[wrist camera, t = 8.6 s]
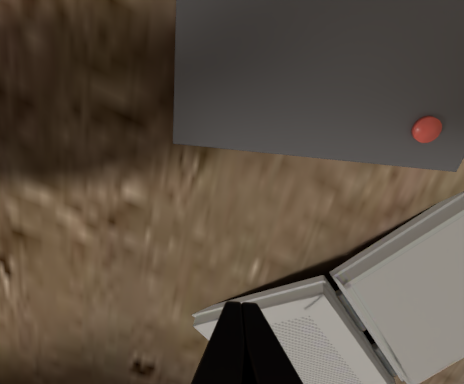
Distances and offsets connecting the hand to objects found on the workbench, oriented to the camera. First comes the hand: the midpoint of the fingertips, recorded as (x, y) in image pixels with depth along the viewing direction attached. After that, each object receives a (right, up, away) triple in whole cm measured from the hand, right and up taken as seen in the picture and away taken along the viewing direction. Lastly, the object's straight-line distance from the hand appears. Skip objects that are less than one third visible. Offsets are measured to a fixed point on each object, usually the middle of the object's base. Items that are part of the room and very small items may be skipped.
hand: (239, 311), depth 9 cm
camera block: (+4, +10, +8) cm, 14 cm away
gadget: (+10, -6, +19) cm, 23 cm away
